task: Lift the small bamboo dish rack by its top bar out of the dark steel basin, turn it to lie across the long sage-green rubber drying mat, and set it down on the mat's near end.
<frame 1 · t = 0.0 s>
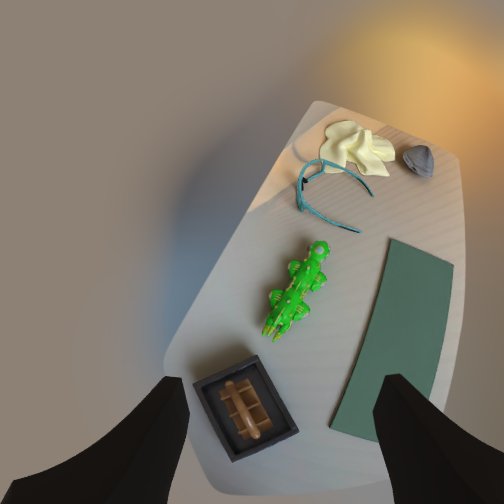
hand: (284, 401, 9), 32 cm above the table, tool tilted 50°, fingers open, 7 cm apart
sunglasses: (332, 200, 55), on the table
sink: (246, 409, 37), on the table
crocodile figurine: (296, 293, 46), on the table
cloth: (356, 151, 62), on the table
drying mat: (406, 338, 41), on the table
dish rack: (246, 409, 36), point 1 cm above the table, touching sink
seashell: (416, 166, 60), on the table
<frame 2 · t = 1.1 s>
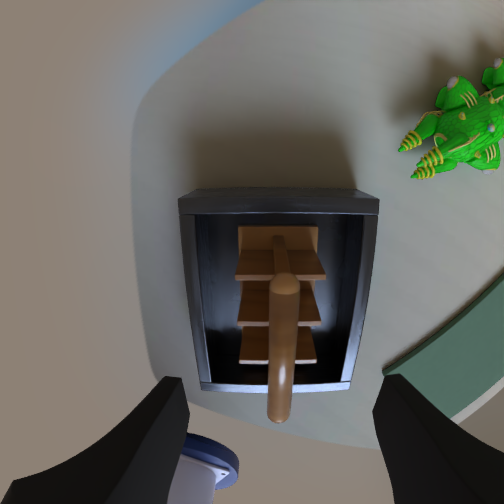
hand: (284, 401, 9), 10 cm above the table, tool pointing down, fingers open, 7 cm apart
sink: (276, 283, 19), on the table
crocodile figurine: (480, 113, 14), on the table
dish rack: (277, 288, 18), point 1 cm above the table, touching sink
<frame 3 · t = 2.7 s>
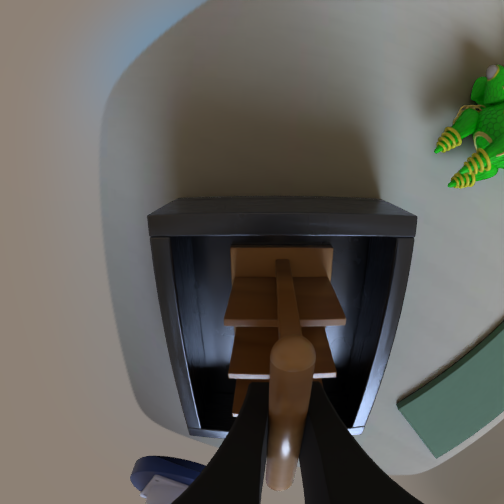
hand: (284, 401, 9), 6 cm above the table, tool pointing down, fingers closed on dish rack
sink: (279, 313, 15), on the table
dish rack: (280, 322, 14), point 1 cm above the table, touching gripper, sink
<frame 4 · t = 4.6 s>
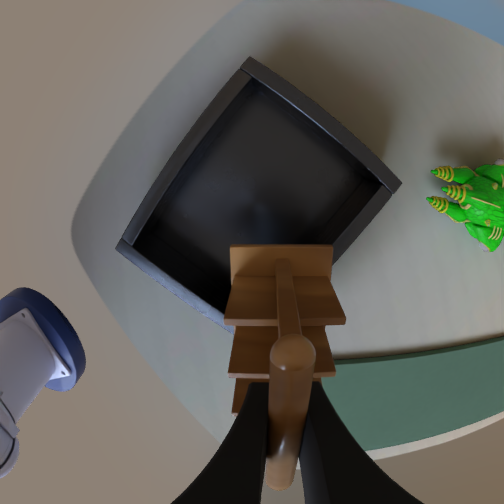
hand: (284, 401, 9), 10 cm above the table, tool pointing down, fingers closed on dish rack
sink: (255, 201, 18), on the table
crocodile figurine: (500, 207, 17), on the table
drying mat: (438, 398, 23), on the table
dish rack: (279, 321, 14), point 5 cm above the table, touching gripper
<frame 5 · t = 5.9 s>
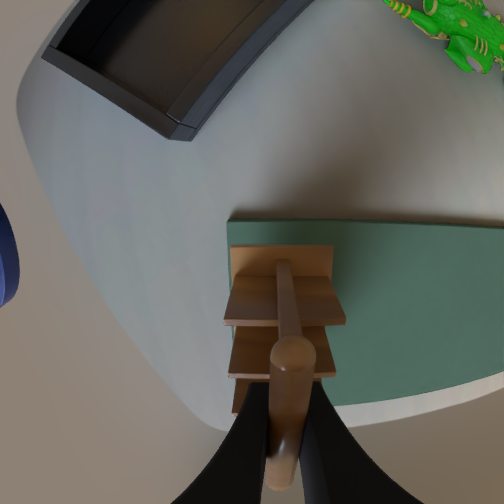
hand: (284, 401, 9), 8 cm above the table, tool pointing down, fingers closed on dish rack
sink: (191, 16, 12), on the table
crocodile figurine: (486, 52, 11), on the table
drying mat: (464, 317, 17), on the table
dish rack: (280, 321, 14), point 3 cm above the table, touching gripper
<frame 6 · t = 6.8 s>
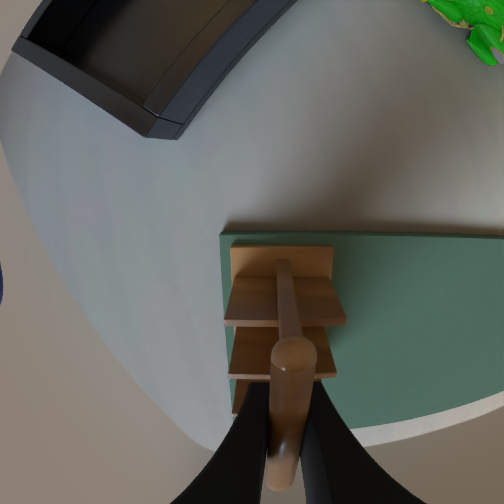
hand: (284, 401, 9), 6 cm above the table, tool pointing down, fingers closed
drying mat: (480, 334, 15), on the table
dish rack: (280, 322, 14), point 1 cm above the table, touching drying mat
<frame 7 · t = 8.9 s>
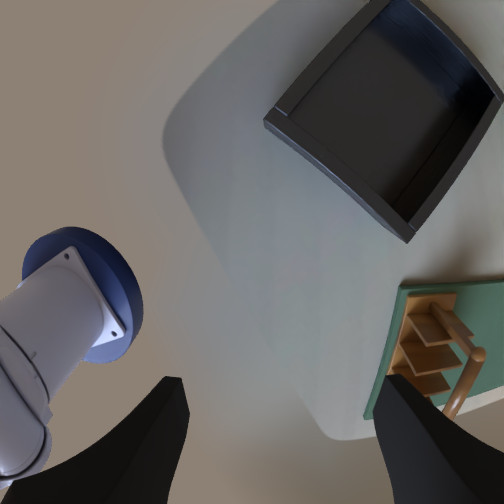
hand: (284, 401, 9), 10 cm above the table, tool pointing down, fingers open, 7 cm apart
sink: (385, 105, 15), on the table
dish rack: (419, 338, 20), point 1 cm above the table, touching drying mat
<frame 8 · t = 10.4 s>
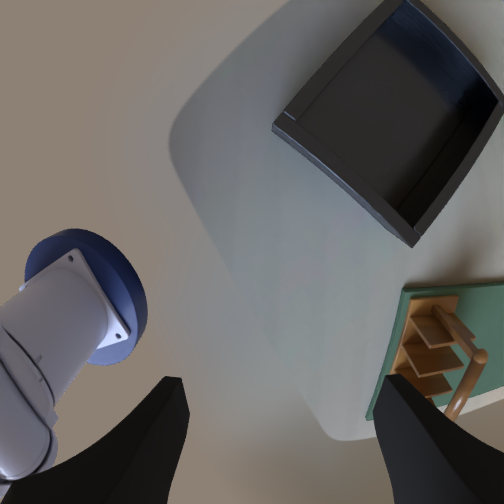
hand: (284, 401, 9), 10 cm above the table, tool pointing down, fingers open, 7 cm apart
sink: (390, 110, 15), on the table
dish rack: (421, 340, 20), point 1 cm above the table, touching drying mat
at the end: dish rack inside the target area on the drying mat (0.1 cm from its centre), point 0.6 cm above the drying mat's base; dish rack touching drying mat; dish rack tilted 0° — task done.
